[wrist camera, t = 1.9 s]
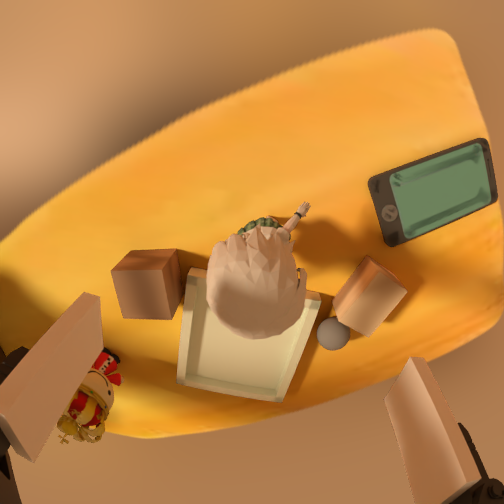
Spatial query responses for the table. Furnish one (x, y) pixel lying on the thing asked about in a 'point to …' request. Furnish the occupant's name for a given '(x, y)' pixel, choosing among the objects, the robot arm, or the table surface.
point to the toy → (91, 400)
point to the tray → (237, 349)
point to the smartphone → (433, 191)
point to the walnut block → (148, 284)
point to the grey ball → (333, 334)
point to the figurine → (257, 279)
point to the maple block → (368, 297)
